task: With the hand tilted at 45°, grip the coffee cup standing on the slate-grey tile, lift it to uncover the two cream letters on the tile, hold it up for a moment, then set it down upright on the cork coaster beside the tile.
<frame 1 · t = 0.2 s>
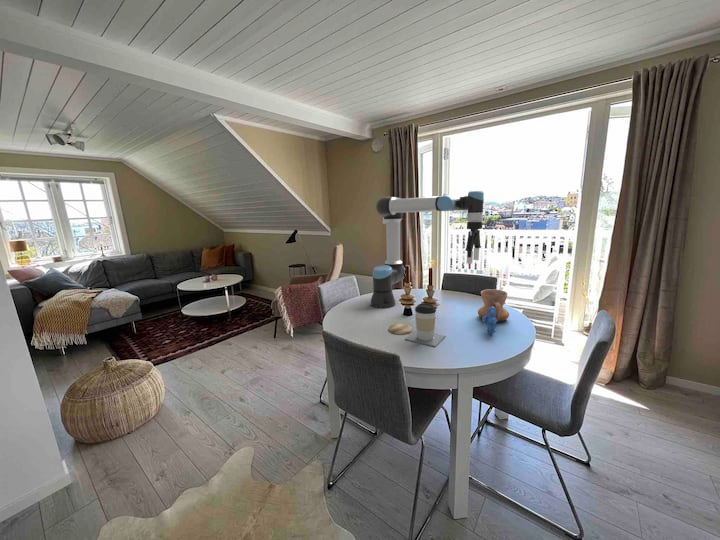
hand: (472, 261, 157), 28 cm above the table, tool pointing down, fingers open, 13 cm apart
grapes: (489, 332, 134), on the table
coaster: (400, 329, 141), on the table
coffee cup: (425, 337, 130), resting on code tile
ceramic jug: (493, 319, 150), on the table
code tile: (425, 338, 130), on the table
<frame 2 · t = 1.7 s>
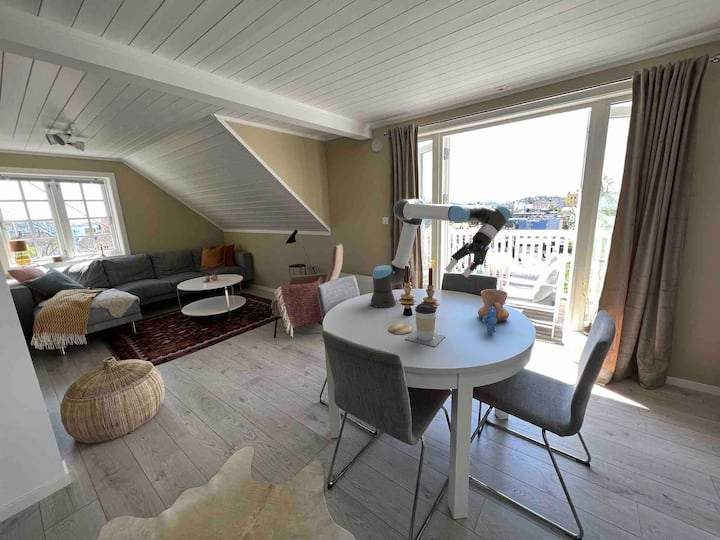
hand: (455, 273, 130), 28 cm above the table, tool tilted 45°, fingers open, 13 cm apart
nothing on the table moved.
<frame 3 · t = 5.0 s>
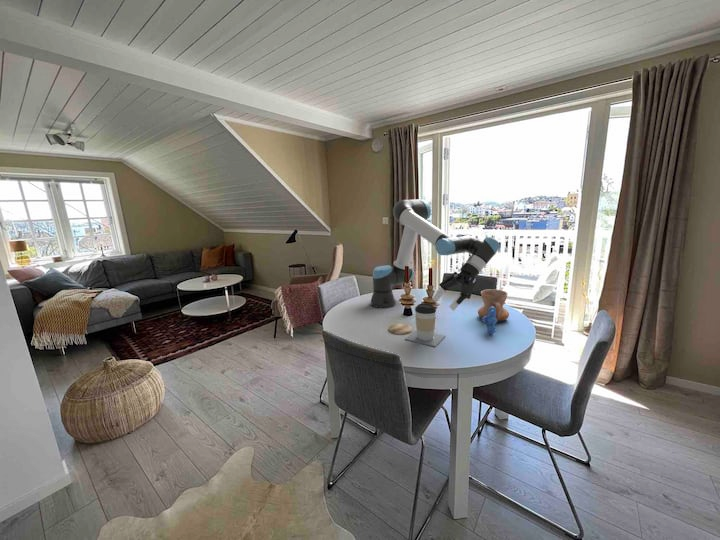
hand: (442, 304, 129), 15 cm above the table, tool tilted 45°, fingers open, 13 cm apart
nothing on the table moved.
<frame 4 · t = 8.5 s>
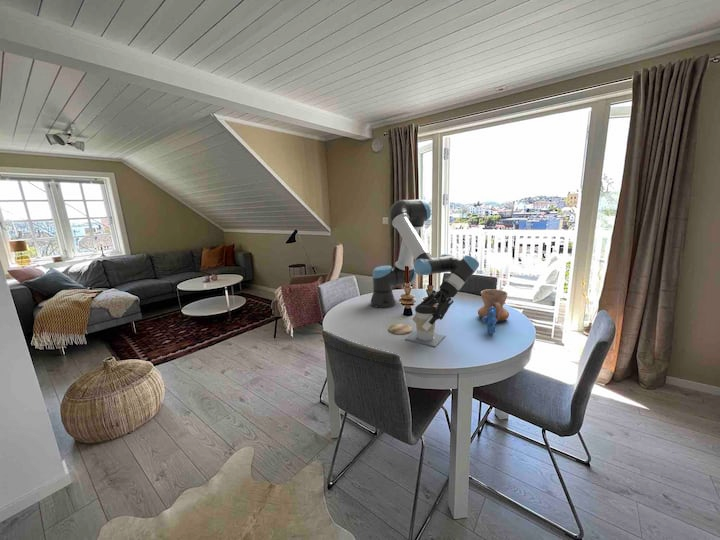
hand: (418, 324, 128), 7 cm above the table, tool tilted 45°, fingers closed on coffee cup, 9 cm apart
coffee cup: (425, 337, 130), resting on code tile, touching gripper
everything else where it was.
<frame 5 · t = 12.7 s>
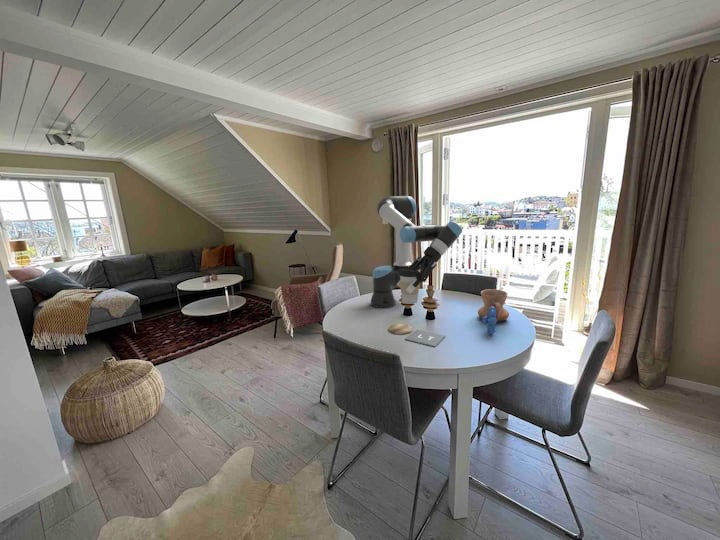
hand: (403, 288, 131), 22 cm above the table, tool tilted 45°, fingers closed on coffee cup, 9 cm apart
coffee cup: (409, 301, 133), point 15 cm above the table, touching gripper
everything else where it was.
when the fingers open (8 cm above the table, at t = 17.1 s): coffee cup drops 1 cm, resting on coaster.
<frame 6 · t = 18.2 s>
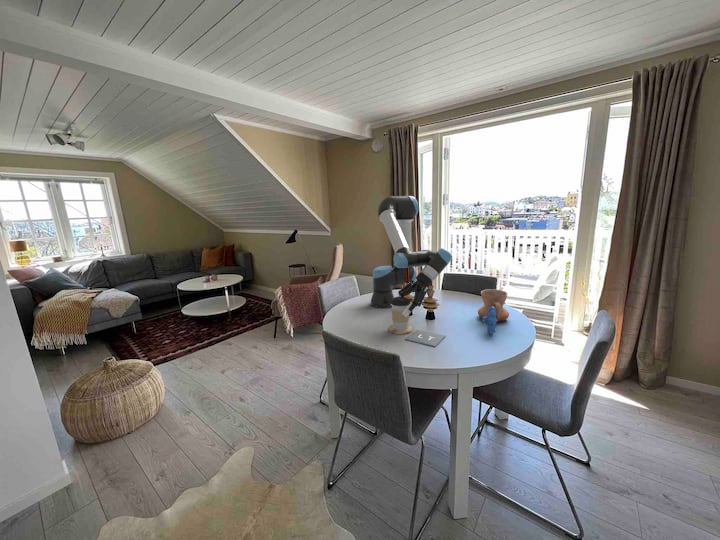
hand: (397, 310, 138), 10 cm above the table, tool tilted 45°, fingers open, 13 cm apart
coffee cup: (400, 328, 141), point 1 cm above the table, touching coaster
everything else where it was.
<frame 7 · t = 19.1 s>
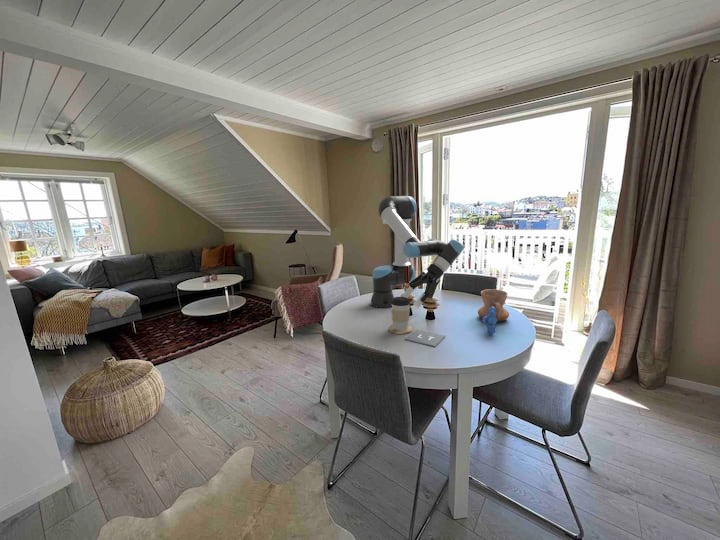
hand: (409, 302, 138), 14 cm above the table, tool tilted 45°, fingers open, 13 cm apart
nothing on the table moved.
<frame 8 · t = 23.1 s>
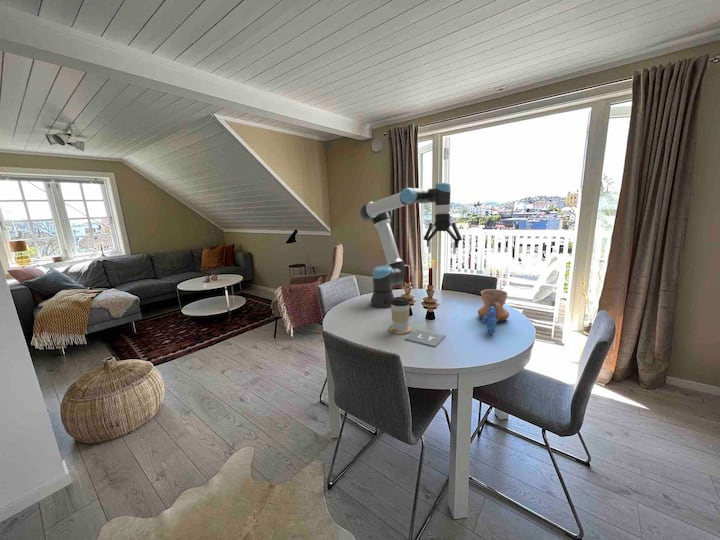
hand: (441, 253, 158), 33 cm above the table, tool pointing down, fingers open, 13 cm apart
nothing on the table moved.
at the end: coffee cup 0.2 cm off-centre on the coaster, point 0.6 cm above the coaster's base; coffee cup tilted 1°; the gripper is holding nothing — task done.
